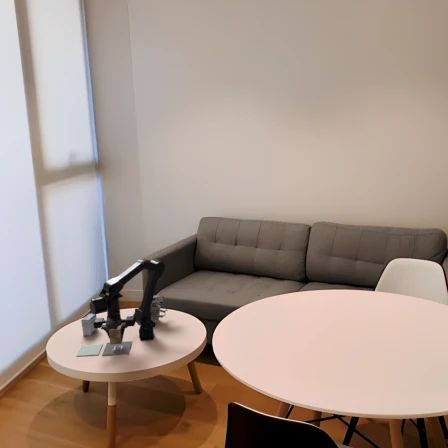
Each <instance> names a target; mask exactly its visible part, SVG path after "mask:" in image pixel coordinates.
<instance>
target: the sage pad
mask: <svg viewBox="0 0 448 448" xmlns="http://www.w3.org/2000/svg"><path fill="white" fill-rule="evenodd" d="M102 347H103V343H102V344H85V345H81V346H80V348H79V350H78V352H77V354H76V357H90V356H91V357H92V356H99V355H100V352H101V350H102Z"/></svg>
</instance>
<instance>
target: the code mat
mask: <svg viewBox="0 0 448 448" xmlns="http://www.w3.org/2000/svg"><path fill="white" fill-rule="evenodd" d="M132 344H133V341H132V340H129V341H122V343H121V344H110V342H106V345H105V347H104V349H103V352H102V354H101V356H102V357H107V356H110V357H111V356H122V355H123V356H127V355H128V356H129V354H130V351H131V347H132Z"/></svg>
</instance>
